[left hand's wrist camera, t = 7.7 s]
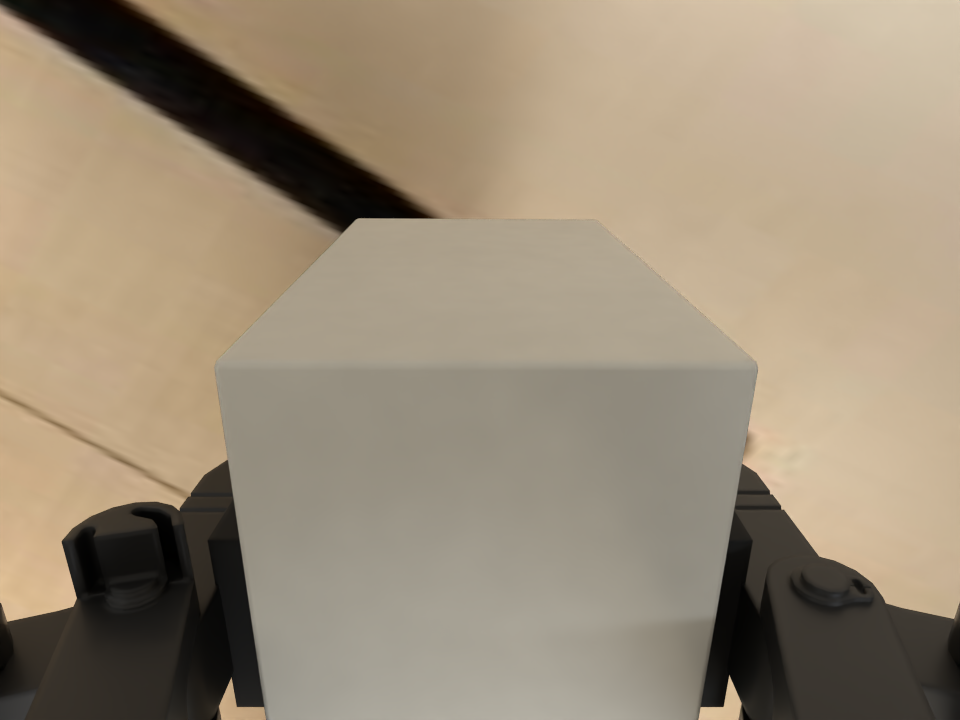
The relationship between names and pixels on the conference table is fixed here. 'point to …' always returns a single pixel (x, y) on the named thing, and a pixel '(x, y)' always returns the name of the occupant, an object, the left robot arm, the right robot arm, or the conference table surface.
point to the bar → (483, 477)
